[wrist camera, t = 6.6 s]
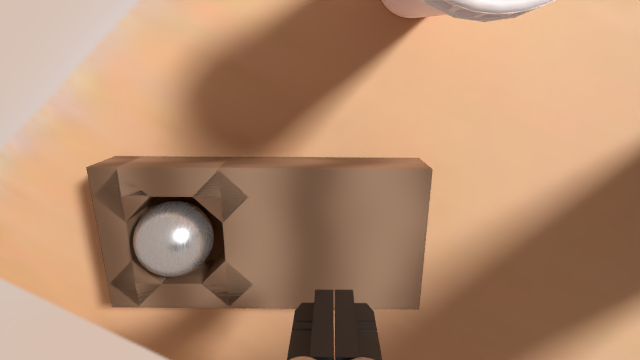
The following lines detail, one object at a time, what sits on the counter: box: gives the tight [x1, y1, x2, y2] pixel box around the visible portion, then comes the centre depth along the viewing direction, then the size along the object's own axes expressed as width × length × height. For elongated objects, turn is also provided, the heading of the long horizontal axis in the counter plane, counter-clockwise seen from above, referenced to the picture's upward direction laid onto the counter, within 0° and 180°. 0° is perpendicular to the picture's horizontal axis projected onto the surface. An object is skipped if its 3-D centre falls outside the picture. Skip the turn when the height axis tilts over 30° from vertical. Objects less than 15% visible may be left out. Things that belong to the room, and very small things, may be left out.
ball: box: [133, 201, 214, 277], centre depth 19 cm, size 4×4×4 cm
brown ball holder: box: [86, 156, 432, 309], centre depth 20 cm, size 17×8×2 cm, turn 90°
